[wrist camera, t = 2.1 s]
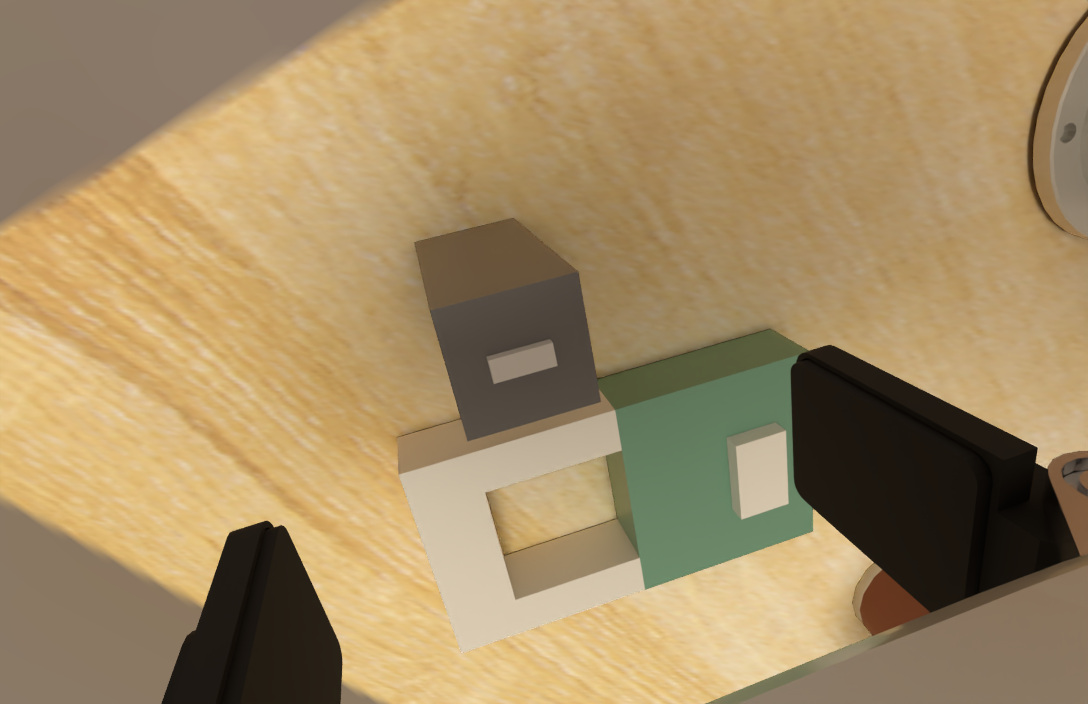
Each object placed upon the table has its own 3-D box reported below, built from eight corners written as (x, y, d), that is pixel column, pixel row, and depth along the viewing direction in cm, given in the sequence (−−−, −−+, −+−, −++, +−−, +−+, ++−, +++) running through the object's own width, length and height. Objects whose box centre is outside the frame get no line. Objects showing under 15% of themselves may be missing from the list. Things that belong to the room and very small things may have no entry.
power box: (770, 328, 29) (822, 358, 26) (777, 496, 33) (823, 541, 30) (397, 437, 26) (399, 486, 23) (454, 605, 30) (463, 668, 27)
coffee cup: (974, 584, 40) (1193, 759, 29) (861, 664, 40) (1037, 867, 29) (937, 497, 36) (1174, 662, 25) (812, 587, 36) (994, 788, 26)
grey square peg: (513, 218, 24) (581, 274, 16) (533, 310, 26) (604, 406, 17) (414, 242, 24) (430, 314, 15) (440, 335, 25) (468, 446, 17)
